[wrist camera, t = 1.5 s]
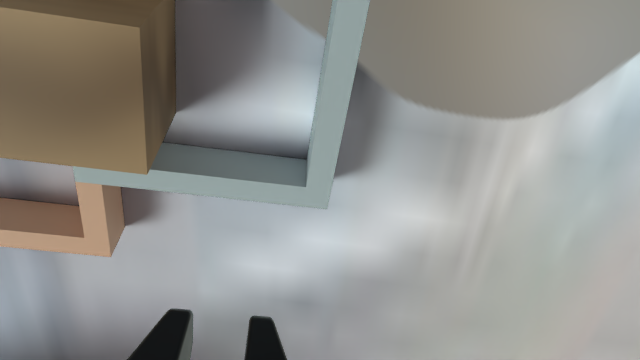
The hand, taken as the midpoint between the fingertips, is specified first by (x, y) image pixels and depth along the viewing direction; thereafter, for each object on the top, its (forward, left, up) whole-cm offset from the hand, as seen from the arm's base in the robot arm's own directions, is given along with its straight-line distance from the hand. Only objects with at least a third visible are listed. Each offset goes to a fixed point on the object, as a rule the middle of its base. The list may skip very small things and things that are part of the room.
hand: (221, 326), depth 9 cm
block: (0, +6, -12) cm, 14 cm away
